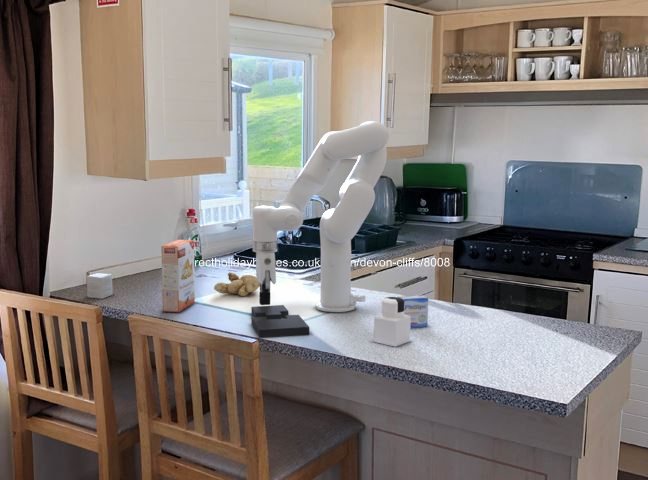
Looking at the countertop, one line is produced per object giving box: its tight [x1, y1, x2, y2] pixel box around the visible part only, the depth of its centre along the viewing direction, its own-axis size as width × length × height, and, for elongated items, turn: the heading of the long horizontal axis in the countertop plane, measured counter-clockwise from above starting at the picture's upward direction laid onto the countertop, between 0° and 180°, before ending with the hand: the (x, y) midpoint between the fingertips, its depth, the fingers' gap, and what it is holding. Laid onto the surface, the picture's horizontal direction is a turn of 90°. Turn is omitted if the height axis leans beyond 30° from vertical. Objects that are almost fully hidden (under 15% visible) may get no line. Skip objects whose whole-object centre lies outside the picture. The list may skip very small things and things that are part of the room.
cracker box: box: [160, 239, 196, 313], centre depth 240 cm, size 14×6×21 cm, turn 168°
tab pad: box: [251, 304, 290, 320], centre depth 230 cm, size 10×11×2 cm
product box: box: [86, 272, 114, 300], centre depth 256 cm, size 6×6×7 cm
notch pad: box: [251, 314, 310, 339], centre depth 216 cm, size 14×14×2 cm
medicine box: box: [398, 294, 429, 329], centre depth 220 cm, size 8×4×9 cm, turn 105°
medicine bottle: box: [373, 296, 411, 348], centre depth 203 cm, size 7×7×12 cm
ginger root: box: [213, 271, 260, 297], centre depth 262 cm, size 16×16×8 cm
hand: (264, 304), depth 238 cm, fingers closed
